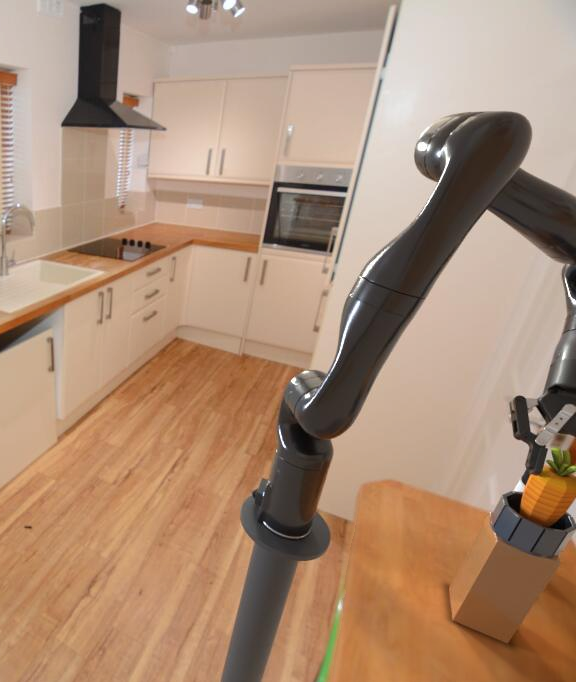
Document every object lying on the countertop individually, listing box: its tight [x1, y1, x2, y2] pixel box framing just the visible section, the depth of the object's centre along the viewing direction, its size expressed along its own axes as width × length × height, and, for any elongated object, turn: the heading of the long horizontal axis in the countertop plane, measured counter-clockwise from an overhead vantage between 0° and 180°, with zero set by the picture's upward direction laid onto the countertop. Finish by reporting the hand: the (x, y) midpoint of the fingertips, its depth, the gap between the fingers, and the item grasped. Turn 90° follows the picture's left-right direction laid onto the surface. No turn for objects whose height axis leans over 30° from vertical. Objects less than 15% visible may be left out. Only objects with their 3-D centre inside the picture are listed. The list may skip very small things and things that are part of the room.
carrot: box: [519, 446, 576, 528], centre depth 64 cm, size 5×5×15 cm
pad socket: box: [448, 490, 576, 644], centre depth 70 cm, size 8×8×23 cm
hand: (560, 481), depth 61 cm, fingers closed on carrot, 4 cm apart
